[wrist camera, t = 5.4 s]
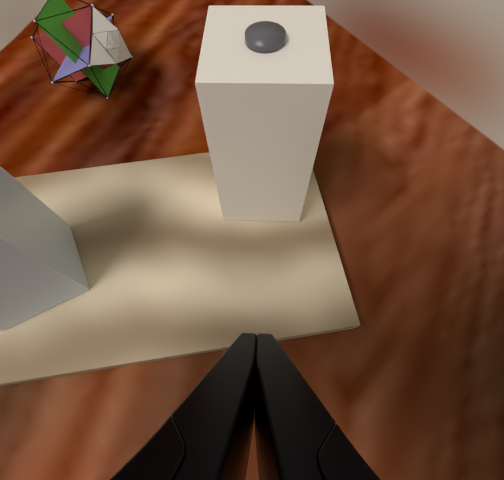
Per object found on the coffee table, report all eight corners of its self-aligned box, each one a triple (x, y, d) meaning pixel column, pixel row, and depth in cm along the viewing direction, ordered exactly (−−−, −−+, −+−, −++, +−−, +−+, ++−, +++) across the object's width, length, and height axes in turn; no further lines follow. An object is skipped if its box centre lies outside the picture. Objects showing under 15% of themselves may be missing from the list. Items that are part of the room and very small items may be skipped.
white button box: (299, 221, 20) (335, 76, 10) (223, 219, 20) (193, 74, 11) (297, 161, 22) (325, -3, 13) (228, 160, 22) (207, -3, 13)
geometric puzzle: (14, 85, 25) (13, -5, 19) (44, 34, 28) (52, -58, 22) (106, 128, 28) (130, 64, 22) (124, 79, 31) (150, 11, 25)
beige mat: (355, 328, 18) (360, 325, 17) (-49, 394, 17) (-66, 394, 16) (302, 149, 24) (303, 140, 23) (4, 188, 23) (-7, 180, 22)
